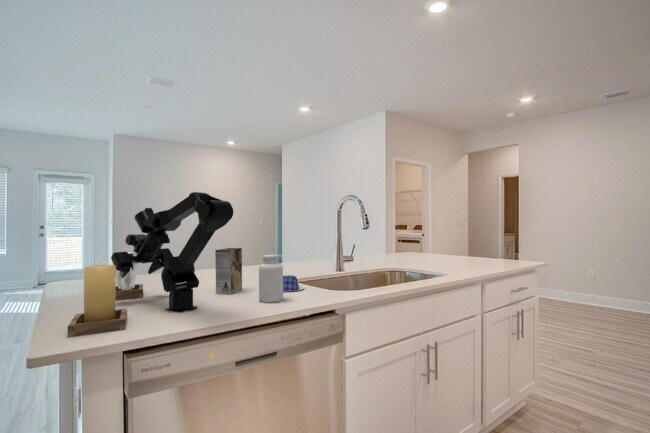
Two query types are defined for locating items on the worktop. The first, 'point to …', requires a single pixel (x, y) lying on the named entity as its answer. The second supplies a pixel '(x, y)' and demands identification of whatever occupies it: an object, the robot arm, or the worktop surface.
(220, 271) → the coffee box
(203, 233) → the robot arm
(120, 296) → the empty pocket
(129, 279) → the beer glass
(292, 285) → the plaid hat
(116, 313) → the brown square tray piece
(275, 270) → the pill bottle
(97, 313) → the cream pillar candle
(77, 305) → the worktop surface
